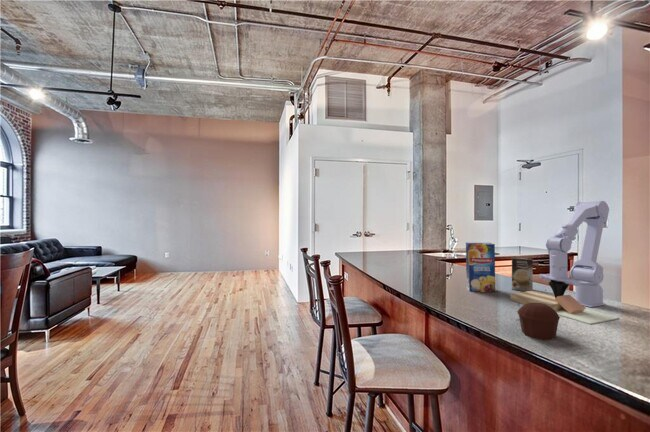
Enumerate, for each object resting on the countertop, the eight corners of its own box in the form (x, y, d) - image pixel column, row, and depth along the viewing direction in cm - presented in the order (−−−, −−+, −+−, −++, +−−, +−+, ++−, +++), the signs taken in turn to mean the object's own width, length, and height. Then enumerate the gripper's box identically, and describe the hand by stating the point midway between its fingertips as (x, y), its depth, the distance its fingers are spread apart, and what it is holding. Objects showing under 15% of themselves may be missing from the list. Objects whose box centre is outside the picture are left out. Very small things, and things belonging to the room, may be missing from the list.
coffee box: (511, 289, 156) (511, 258, 156) (511, 287, 161) (511, 256, 161) (533, 292, 151) (532, 259, 151) (532, 289, 156) (532, 257, 156)
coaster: (566, 297, 125) (569, 294, 124) (582, 311, 119) (585, 308, 118) (554, 299, 122) (557, 296, 121) (570, 313, 117) (573, 310, 116)
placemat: (579, 308, 124) (579, 307, 124) (619, 318, 112) (619, 317, 112) (552, 313, 119) (551, 312, 119) (589, 324, 107) (589, 323, 107)
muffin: (534, 326, 106) (534, 297, 106) (569, 338, 96) (568, 306, 96) (509, 331, 102) (508, 301, 102) (542, 344, 92) (541, 311, 92)
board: (533, 296, 142) (533, 290, 142) (575, 308, 125) (575, 300, 125) (510, 300, 138) (510, 293, 138) (551, 312, 121) (551, 304, 121)
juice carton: (469, 291, 154) (468, 244, 154) (466, 287, 161) (465, 242, 161) (495, 292, 151) (494, 244, 151) (491, 288, 158) (490, 242, 158)
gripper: (534, 264, 130) (534, 296, 130) (570, 270, 116) (571, 305, 116) (546, 263, 132) (546, 294, 132) (583, 268, 118) (583, 303, 118)
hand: (558, 299), depth 124 cm, fingers closed
